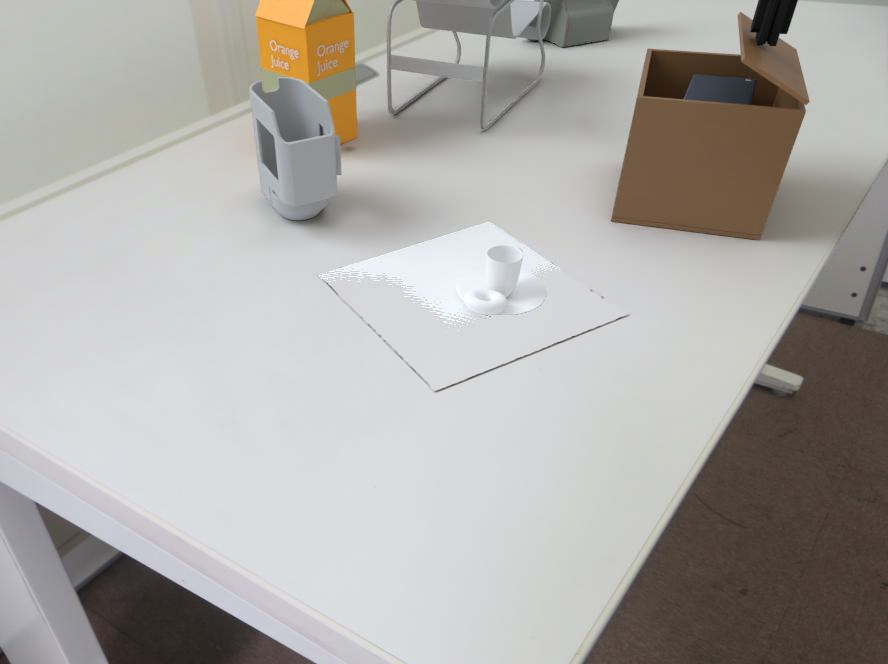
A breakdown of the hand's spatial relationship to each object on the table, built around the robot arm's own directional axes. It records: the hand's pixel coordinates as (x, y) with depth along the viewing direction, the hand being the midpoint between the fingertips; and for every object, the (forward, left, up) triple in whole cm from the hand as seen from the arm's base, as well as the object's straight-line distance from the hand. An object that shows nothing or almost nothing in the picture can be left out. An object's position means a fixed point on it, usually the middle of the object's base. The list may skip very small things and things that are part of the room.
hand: (765, 41), depth 70 cm
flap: (-1, 0, -1) cm, 2 cm away
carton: (+3, 0, -16) cm, 16 cm away
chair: (+32, -24, -16) cm, 43 cm away
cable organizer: (+42, +14, -16) cm, 47 cm away
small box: (+3, 0, -16) cm, 16 cm away
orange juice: (+48, -5, -16) cm, 51 cm away
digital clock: (+22, -55, -16) cm, 61 cm away
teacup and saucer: (+21, +25, -16) cm, 36 cm away
